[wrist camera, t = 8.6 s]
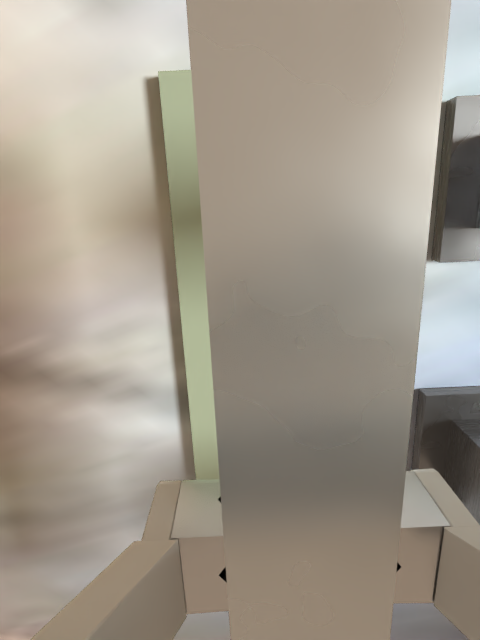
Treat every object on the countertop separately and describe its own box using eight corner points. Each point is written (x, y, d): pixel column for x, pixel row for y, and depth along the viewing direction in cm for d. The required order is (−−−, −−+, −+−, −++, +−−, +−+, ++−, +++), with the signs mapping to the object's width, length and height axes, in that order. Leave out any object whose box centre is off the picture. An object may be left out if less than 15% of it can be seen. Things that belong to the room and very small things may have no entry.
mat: (346, 67, 17) (350, 62, 16) (333, 519, 23) (335, 526, 23) (160, 76, 17) (158, 71, 16) (201, 525, 23) (200, 533, 23)
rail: (373, -92, 6) (482, -326, 4) (335, 743, 13) (364, 898, 10) (195, -83, 6) (163, -312, 4) (245, 747, 13) (248, 903, 10)
